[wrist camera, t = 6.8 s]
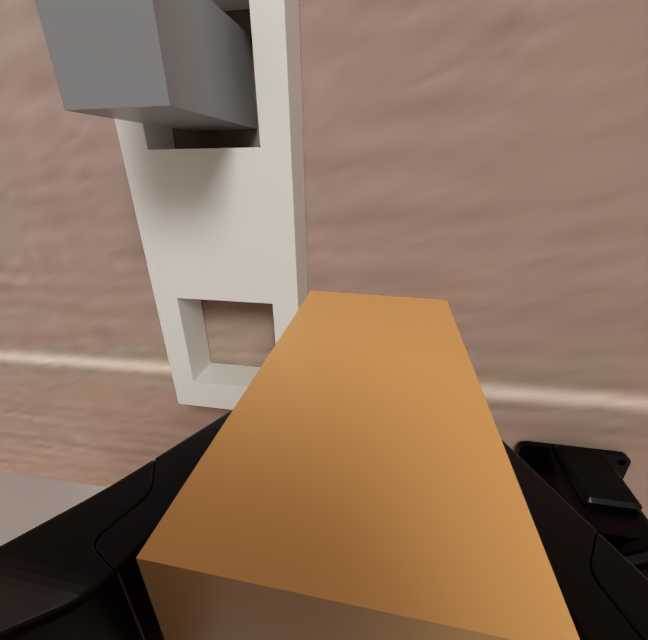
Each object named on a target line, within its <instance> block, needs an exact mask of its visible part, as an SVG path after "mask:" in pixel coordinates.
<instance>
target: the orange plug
mask: <svg viewBox="0 0 648 640" xmlns="http://www.w3.org/2000/svg"><path fill="white" fill-rule="evenodd" d="M136 560H137V563H138V565H139V568H140V571H141V574H142V577H143V580H144V583H145V585H146V588H147V591H148V594H149V597H150V600H151V603H152V605H153V608H154V611H155V614H156V617H157V620H158V623H159V625H160V628H161V631H162V634H163V637H164V640H580V638H579V636H578V633H577V631H576V628H575V626H574V623H573V621H572V618H571V616H570V613H569V610H568V608H567V605H566V603H565V600H564V598H563V595H562V593H561V590H560V588H559V585H558V582H557V580H556V577H555V575H554V572H553V570H552V567H551V565H550V562H549V560H548V557H547V554H546V552H545V549H544V547H543V544H542V542H541V539H540V537H539V534H538V532H537V529H536V526H535V524H534V521H533V519H532V516H531V514H530V511H529V509H528V506H527V504H526V501H525V499H524V496H523V493H522V491H521V488H520V486H519V483H518V481H517V478H516V476H515V473H514V471H513V468H512V465H511V463H510V460H509V458H508V455H507V453H506V450H505V448H504V445H503V443H502V440H501V437H500V435H499V432H498V430H497V427H496V425H495V422H494V420H493V417H492V415H491V412H490V409H489V407H488V404H487V402H486V399H485V397H484V394H483V392H482V389H481V387H480V384H479V382H478V379H477V376H476V374H475V371H474V369H473V366H472V364H471V361H470V359H469V356H468V354H467V351H466V348H465V346H464V343H463V341H462V338H461V336H460V333H459V331H458V328H457V326H456V323H455V320H454V318H453V315H452V313H451V310H450V308H449V305H448V303H447V300H437V299H423V298H408V297H394V296H380V295H365V294H351V293H337V292H323V291H310V293H309V294H308V296H307V297H306V299H305V301H304V302H303V304H302V305H301V307H300V308H299V310H298V311H297V313H296V314H295V316H294V317H293V319H292V320H291V322H290V323H289V325H288V326H287V328H286V330H285V331H284V333H283V334H282V336H281V337H280V339H279V340H278V342H277V343H276V345H275V346H274V348H273V349H272V351H271V352H270V354H269V355H268V357H267V359H266V360H265V362H264V363H263V365H262V366H261V368H260V369H259V371H258V372H257V374H256V375H255V377H254V378H253V380H252V381H251V383H250V385H249V386H248V388H247V389H246V391H245V392H244V394H243V395H242V397H241V398H240V400H239V401H238V403H237V404H236V406H235V407H234V409H233V410H232V412H231V414H230V415H229V417H228V418H227V420H226V421H225V423H224V424H223V426H222V427H221V429H220V430H219V432H218V433H217V435H216V436H215V438H214V440H213V441H212V443H211V444H210V446H209V447H208V449H207V450H206V452H205V453H204V455H203V456H202V458H201V459H200V461H199V462H198V464H197V465H196V467H195V469H194V470H193V472H192V473H191V475H190V476H189V478H188V479H187V481H186V482H185V484H184V485H183V487H182V488H181V490H180V491H179V493H178V494H177V496H176V498H175V499H174V501H173V502H172V504H171V505H170V507H169V508H168V510H167V511H166V513H165V514H164V516H163V517H162V519H161V520H160V522H159V524H158V525H157V527H156V528H155V530H154V531H153V533H152V534H151V536H150V537H149V539H148V540H147V542H146V543H145V545H144V546H143V548H142V549H141V551H140V553H139V554H138V556H137V557H136Z"/></svg>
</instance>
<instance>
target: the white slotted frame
mask: <svg viewBox="0 0 648 640" xmlns="http://www.w3.org/2000/svg"><path fill="white" fill-rule="evenodd" d="M211 1H212V2H214V3H215V4H216V5H217V6H218V7H219V8H220V9H221V10H222V11H233V10H244V9H250V19H251V32H252V45H253V58H254V71H255V84H256V97H257V109H258V122H259V135H260V147H247V148H202V149H175V144H174V138H173V132H172V128H167V127H161V126H155V125H149V124H143V123H138V122H132V121H126V120H120V119H115V124H116V128H117V133H118V137H119V141H120V146H121V150H122V155H123V159H124V164H125V168H126V172H127V177H128V181H129V186H130V190H131V195H132V199H133V203H134V208H135V212H136V217H137V221H138V226H139V230H140V234H141V239H142V243H143V248H144V252H145V257H146V261H147V265H148V270H149V274H150V279H151V283H152V288H153V292H154V297H155V301H156V305H157V310H158V314H159V319H160V323H161V328H162V332H163V336H164V341H165V345H166V350H167V354H168V359H169V363H170V367H171V372H172V376H173V381H174V385H175V390H176V394H177V398H178V403H179V404H187V405H195V406H204V407H212V408H221V409H230V410H233V409H234V407H235V406H236V404H237V403H238V401H239V400H240V398H241V397H242V395H243V394H244V392H245V391H246V389H247V388H248V386H249V385H250V383H251V381H252V380H253V378H254V377H255V375H256V374H257V372H258V371H259V369H260V368H261V367H253V366H242V365H231V364H220V363H211V358H210V352H209V346H208V341H207V335H206V329H205V323H204V317H203V311H202V305H201V299H202V300H219V301H236V302H253V303H270V304H273V316H274V329H275V342H276V343H277V342H278V340H279V339H280V337H281V336H282V334H283V333H284V331H285V330H286V328H287V326H288V325H289V323H290V322H291V320H292V319H293V317H294V316H295V314H296V313H297V311H298V310H299V308H300V307H301V305H302V304H303V302H304V301H305V299H306V297H307V296H308V279H307V247H306V216H305V184H304V153H303V121H302V90H301V58H300V27H299V0H211Z"/></svg>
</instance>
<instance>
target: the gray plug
mask: <svg viewBox="0 0 648 640" xmlns="http://www.w3.org/2000/svg"><path fill="white" fill-rule="evenodd" d="M35 2H36V6H37V10H38V13H39V17H40V21H41V24H42V28H43V32H44V35H45V39H46V43H47V46H48V50H49V53H50V57H51V61H52V64H53V68H54V72H55V75H56V79H57V83H58V86H59V90H60V94H61V97H62V101H63V105H64V108H65V110H66V111H72V112H78V113H84V114H90V115H96V116H102V117H108V118H114V119H120V120H126V121H132V122H138V123H143V124H149V125H155V126H161V127H167V128H173V129H179V130H185V131H209V130H240V129H257V119H256V107H255V94H254V82H253V69H252V56H251V44H250V35H249V34H248V33H247V32H246V31H244V30H243V29H242V28H241V27H240V26H239V25H238V24H237V23H236V22H234V21H233V20H232V19H231V18H230V17H229V16H228V15H227V14H226V13H225V12H223V11H222V10H221V9H220V8H219V7H218V6H217V5H216V4H215V3H214V2H212V1H211V0H35Z"/></svg>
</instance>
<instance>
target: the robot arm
mask: <svg viewBox="0 0 648 640" xmlns="http://www.w3.org/2000/svg"><path fill="white" fill-rule="evenodd" d="M231 412H232V410H231V411H230V412H228V413H227V414H225V415H224V416H222V417H220V418H219V419H217V420H216V421H214V422H212V423H211V424H209V425H208V426H206V427H205V428H203V429H201V430H200V431H198V432H197V433H195V434H193V435H192V436H190V437H189V438H187V439H186V440H184V441H182V442H181V443H179V444H178V445H176V446H175V447H173V448H171V449H170V450H168V451H167V452H165V453H163V454H162V455H160V456H159V457H157V458H156V459H155V461H151V462H149V463H147V464H146V465H144V466H143V467H141V468H139V469H138V470H136V471H135V472H133V473H131V474H130V475H128V476H126V477H125V478H123V479H121V480H120V481H118V482H117V483H115V484H113V485H112V486H110V487H108V488H106V489H105V490H103V491H101V492H99V493H97V494H96V495H94V496H92V497H90V498H89V499H87V500H85V501H84V502H81V503H80V504H78V505H76V506H74V507H72V508H70V509H69V510H67V511H65V512H63V513H61V514H59V515H57V516H56V517H54V518H52V519H50V520H48V521H46V522H44V523H43V524H41V525H39V526H37V527H35V528H33V529H32V530H30V531H28V532H26V533H24V534H22V535H20V536H19V537H17V538H15V539H13V540H11V541H9V542H8V543H6V544H4V545H2V546H0V640H164V637H163V634H162V631H161V628H160V625H159V623H158V620H157V617H156V614H155V611H154V608H153V605H152V603H151V600H150V597H149V594H148V591H147V588H146V585H145V583H144V580H143V577H142V574H141V571H140V568H139V565H138V563H137V560H136V557H137V556H138V554H139V553H140V551H141V549H142V548H143V546H144V545H145V543H146V542H147V540H148V539H149V537H150V536H151V534H152V533H153V531H154V530H155V528H156V527H157V525H158V524H159V522H160V520H161V519H162V517H163V516H164V514H165V513H166V511H167V510H168V508H169V507H170V505H171V504H172V502H173V501H174V499H175V498H176V496H177V494H178V493H179V491H180V490H181V488H182V487H183V485H184V484H185V482H186V481H187V479H188V478H189V476H190V475H191V473H192V472H193V470H194V469H195V467H196V465H197V464H198V462H199V461H200V459H201V458H202V456H203V455H204V453H205V452H206V450H207V449H208V447H209V446H210V444H211V443H212V441H213V440H214V438H215V436H216V435H217V433H218V432H219V430H220V429H221V427H222V426H223V424H224V423H225V421H226V420H227V418H228V417H229V415H230V414H231ZM501 440H502V439H501ZM502 443H503V445H504V448H505V450H506V453H507V455H508V458H509V460H510V463H511V465H512V468H513V471H514V473H515V476H516V478H517V481H518V483H519V486H520V488H521V491H522V493H523V496H524V499H525V501H526V504H527V506H528V509H529V511H530V514H531V516H532V519H533V521H534V524H535V526H536V529H537V532H538V534H539V537H540V539H541V542H542V544H543V547H544V549H545V552H546V554H547V557H548V560H549V562H550V565H551V567H552V570H553V572H554V575H555V577H556V580H557V582H558V585H559V588H560V590H561V593H562V595H563V598H564V600H565V603H566V605H567V608H568V610H569V613H570V616H571V618H572V621H573V623H574V626H575V628H576V631H577V633H578V636H579V638H580V640H648V519H647V518H646V516H645V515H644V514H643V512H642V511H641V510H642V505H641V504H640V503H639V501H638V500H637V499H636V497H635V496H634V494H633V493H632V492H631V490H630V489H629V488H628V486H627V485H626V483H625V482H624V481H623V478H624V476H625V474H626V471H627V469H628V467H629V465H630V462H631V461H630V459H629V458H628V456H627V455H626V454H625V453H623V452H618V451H609V450H600V449H592V448H583V447H574V446H565V445H557V444H548V443H539V442H531V441H523V442H520V443H519V444H518V446H517V449H516V453H515V452H514V451H513V450H512V449H511V448H510V447H509V446H508V445H507V444H506V443H505V442H504V441H503V440H502ZM526 448H529V449H527V450H524V449H526ZM618 460H619V461H618Z"/></svg>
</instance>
